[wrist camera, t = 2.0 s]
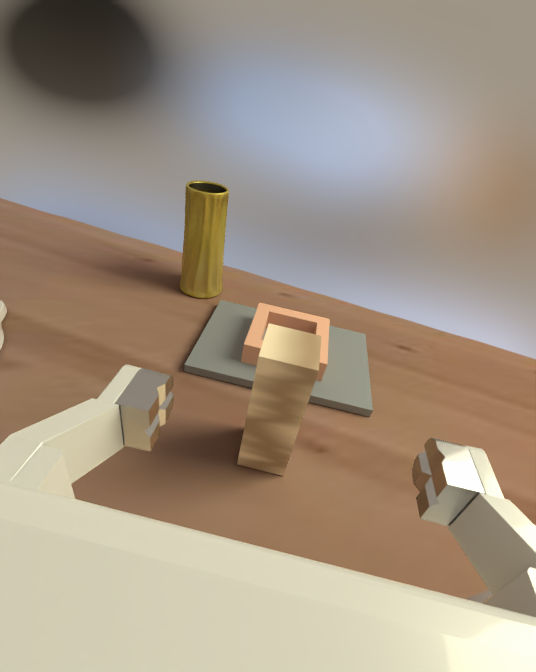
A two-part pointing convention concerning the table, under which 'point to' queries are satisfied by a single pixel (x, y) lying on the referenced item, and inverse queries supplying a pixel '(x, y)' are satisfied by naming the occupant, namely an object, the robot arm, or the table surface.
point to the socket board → (246, 341)
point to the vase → (204, 239)
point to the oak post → (279, 397)
